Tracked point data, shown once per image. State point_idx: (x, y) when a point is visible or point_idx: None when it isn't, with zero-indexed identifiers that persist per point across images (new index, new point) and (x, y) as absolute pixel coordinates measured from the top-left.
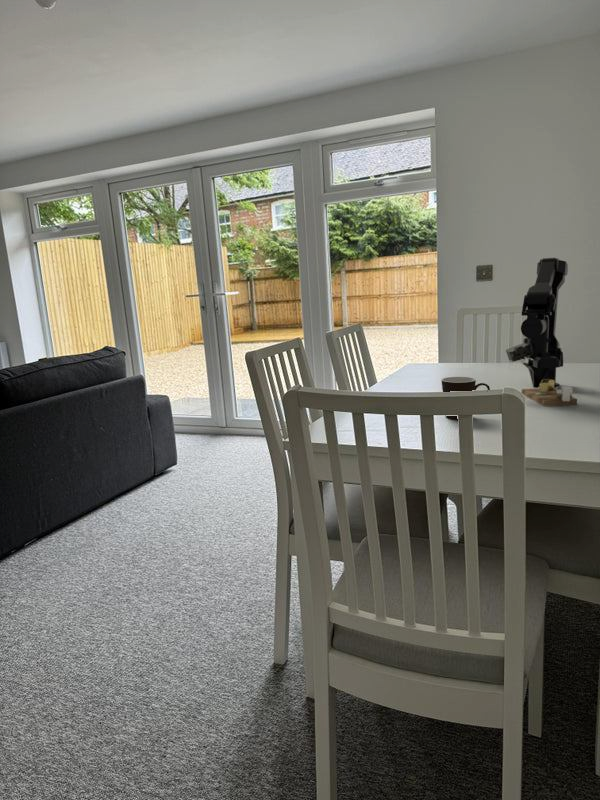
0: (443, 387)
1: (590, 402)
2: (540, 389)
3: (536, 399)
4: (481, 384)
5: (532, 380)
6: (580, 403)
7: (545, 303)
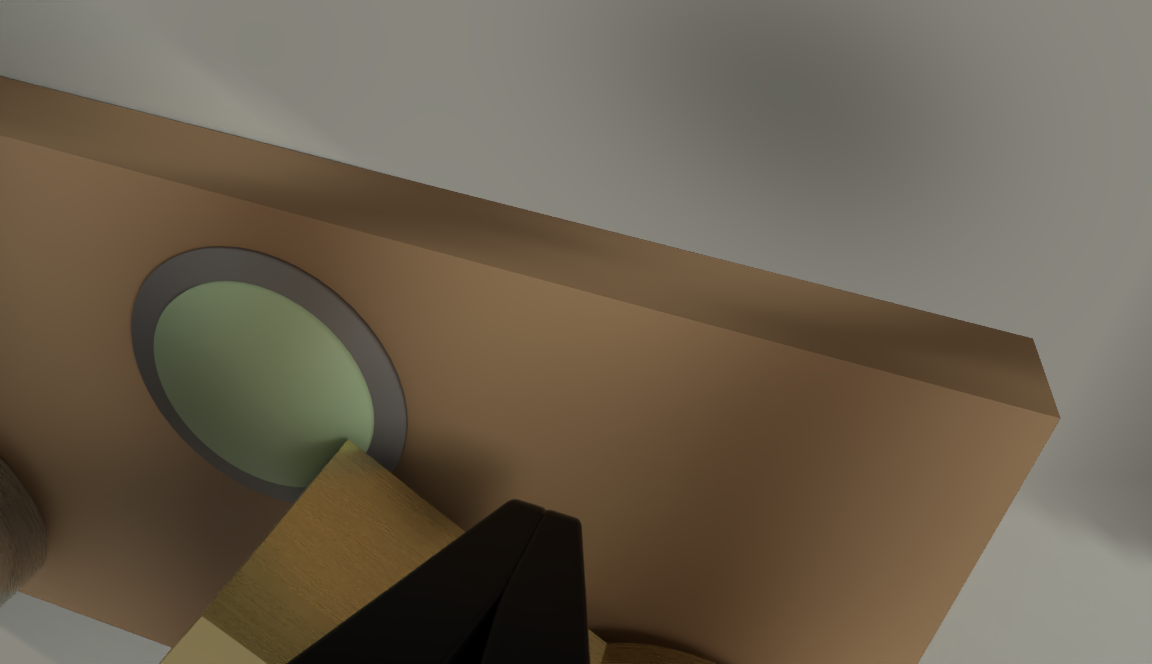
0: None
1: (75, 657)
2: (314, 485)
3: (63, 118)
4: None
5: (489, 649)
6: None
7: None
